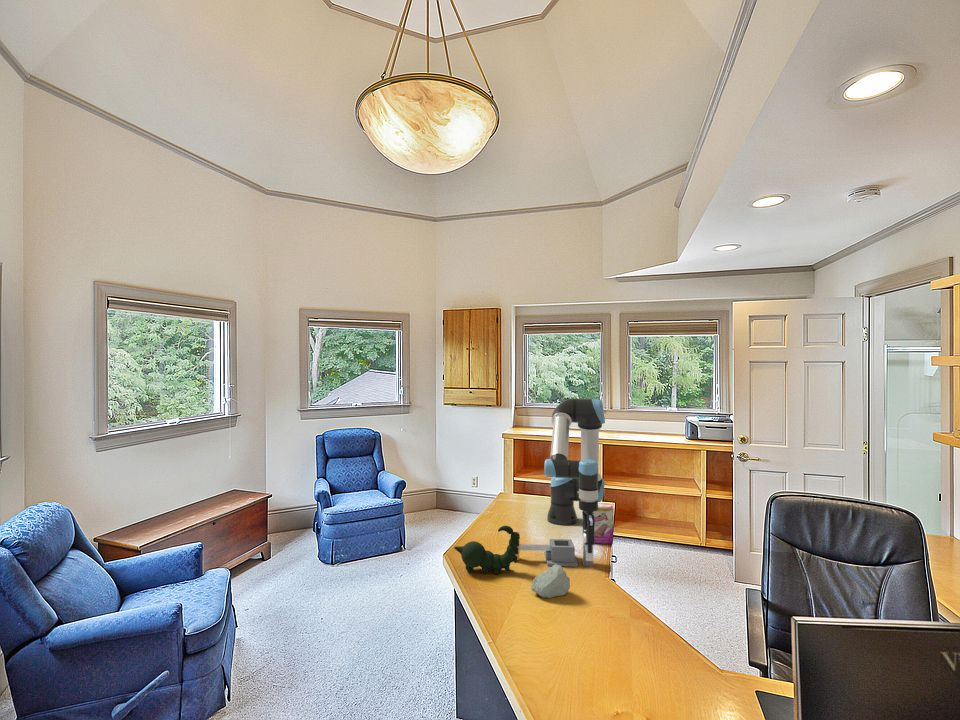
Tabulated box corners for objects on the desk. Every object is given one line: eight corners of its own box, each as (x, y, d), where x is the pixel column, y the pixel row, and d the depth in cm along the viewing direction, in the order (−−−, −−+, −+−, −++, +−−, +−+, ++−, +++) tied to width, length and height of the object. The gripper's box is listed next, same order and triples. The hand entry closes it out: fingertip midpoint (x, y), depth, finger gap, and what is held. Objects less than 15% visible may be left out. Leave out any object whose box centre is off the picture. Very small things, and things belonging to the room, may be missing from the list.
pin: (511, 557, 201) (511, 531, 201) (550, 557, 201) (550, 532, 201) (511, 560, 198) (511, 534, 198) (551, 560, 198) (551, 535, 198)
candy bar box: (588, 543, 217) (588, 507, 218) (586, 539, 222) (586, 503, 223) (613, 544, 216) (613, 507, 216) (611, 540, 221) (611, 504, 221)
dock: (544, 554, 205) (544, 537, 205) (573, 554, 205) (573, 538, 205) (547, 566, 193) (547, 548, 193) (577, 566, 193) (577, 548, 193)
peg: (582, 562, 197) (582, 527, 197) (592, 562, 197) (592, 527, 197) (584, 566, 193) (584, 531, 193) (594, 566, 193) (594, 531, 193)
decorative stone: (570, 586, 175) (554, 561, 178) (577, 588, 165) (560, 561, 168) (541, 608, 172) (525, 582, 175) (547, 612, 162) (530, 584, 165)
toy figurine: (515, 571, 192) (453, 563, 194) (520, 523, 192) (457, 516, 194) (516, 581, 183) (450, 573, 184) (521, 531, 183) (455, 524, 184)
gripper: (575, 493, 204) (575, 549, 203) (582, 505, 187) (582, 566, 186) (593, 494, 203) (593, 550, 203) (602, 505, 186) (602, 567, 186)
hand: (588, 558), depth 195 cm, fingers closed on peg, 4 cm apart
